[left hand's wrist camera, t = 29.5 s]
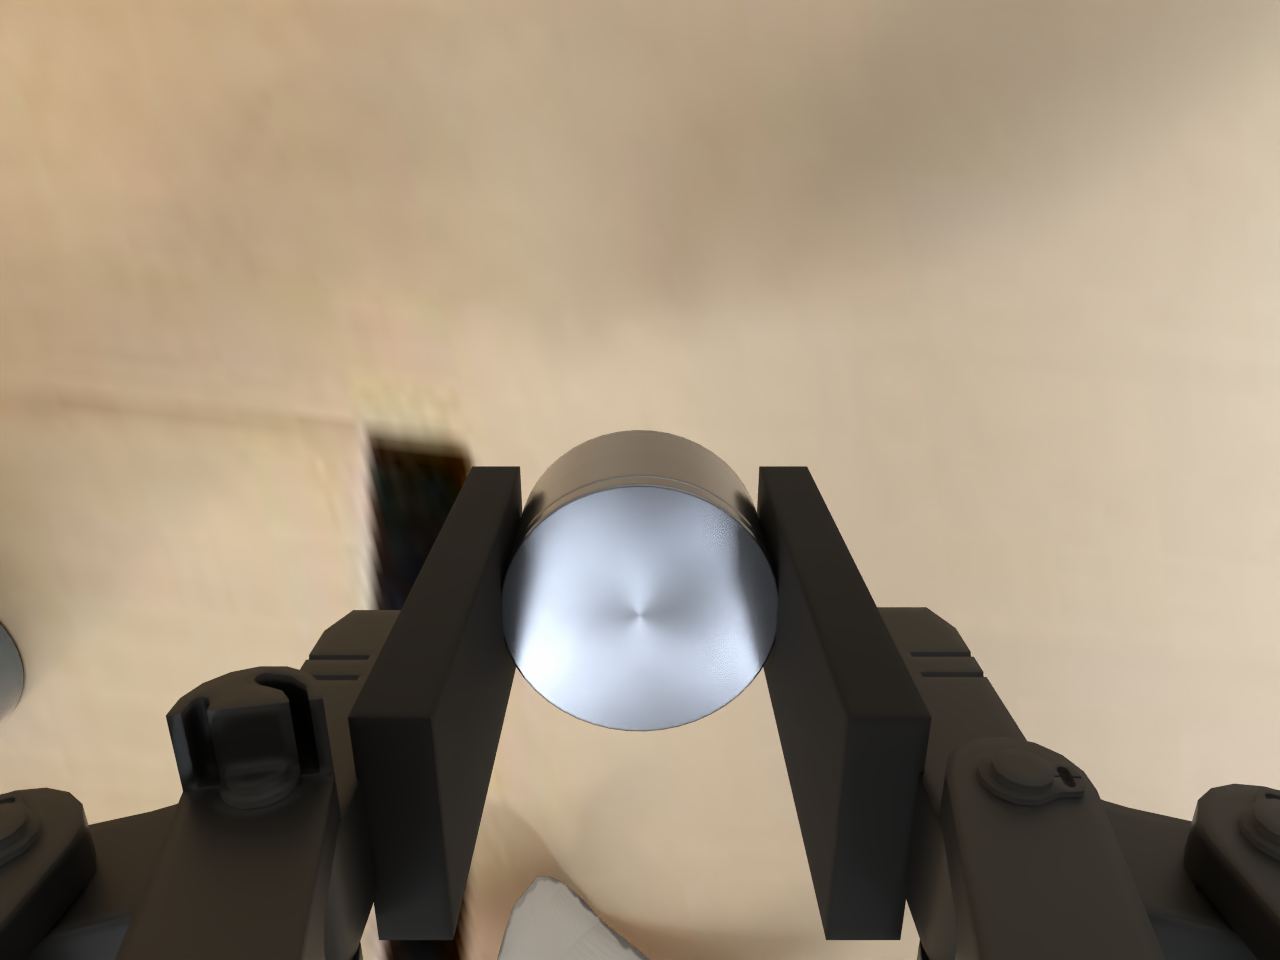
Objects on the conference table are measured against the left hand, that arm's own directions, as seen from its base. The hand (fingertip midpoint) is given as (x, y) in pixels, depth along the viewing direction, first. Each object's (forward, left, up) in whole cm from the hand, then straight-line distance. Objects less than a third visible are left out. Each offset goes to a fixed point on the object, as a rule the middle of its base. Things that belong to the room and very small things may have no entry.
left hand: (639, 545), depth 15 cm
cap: (0, 0, +2) cm, 2 cm away
